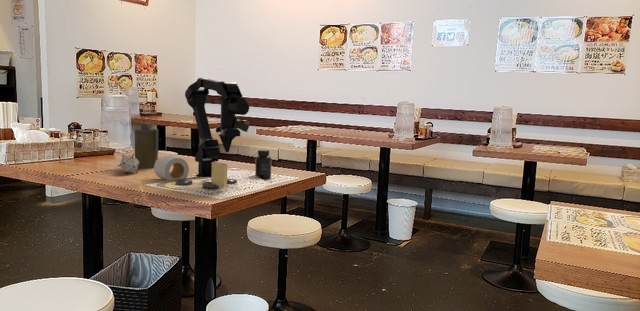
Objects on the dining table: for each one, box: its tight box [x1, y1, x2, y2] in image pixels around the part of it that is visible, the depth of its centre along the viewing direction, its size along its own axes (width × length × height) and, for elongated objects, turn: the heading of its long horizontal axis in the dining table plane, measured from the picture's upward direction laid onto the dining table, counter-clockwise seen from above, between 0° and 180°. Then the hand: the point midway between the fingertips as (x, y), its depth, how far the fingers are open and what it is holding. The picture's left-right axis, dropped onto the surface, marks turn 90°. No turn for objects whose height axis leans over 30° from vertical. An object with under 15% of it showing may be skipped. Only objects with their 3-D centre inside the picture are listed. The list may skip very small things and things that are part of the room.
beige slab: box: [202, 161, 228, 190], centre depth 176 cm, size 11×6×10 cm, turn 50°
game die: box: [117, 153, 141, 175], centre depth 207 cm, size 9×8×10 cm
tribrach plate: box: [175, 178, 238, 186], centre depth 186 cm, size 18×20×2 cm
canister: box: [133, 122, 159, 169], centre depth 224 cm, size 11×10×20 cm
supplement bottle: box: [254, 149, 272, 180], centre depth 210 cm, size 7×7×12 cm
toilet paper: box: [153, 154, 190, 181], centre depth 194 cm, size 10×10×10 cm
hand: (227, 152), depth 197 cm, fingers closed
